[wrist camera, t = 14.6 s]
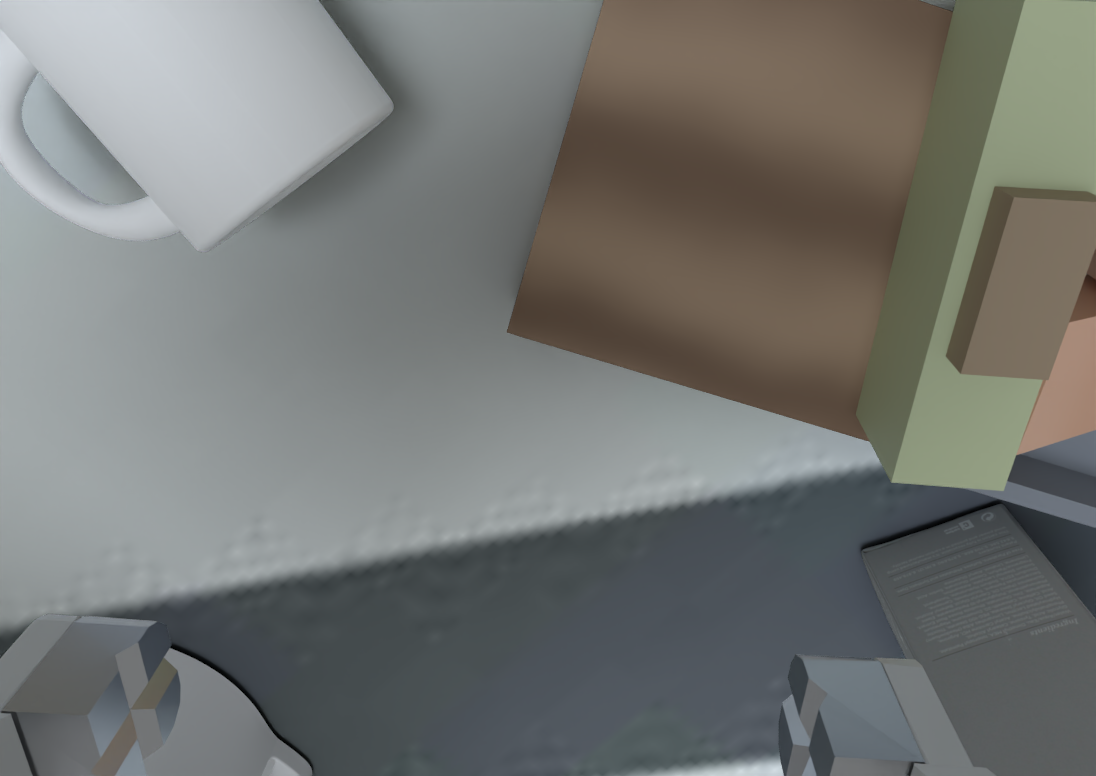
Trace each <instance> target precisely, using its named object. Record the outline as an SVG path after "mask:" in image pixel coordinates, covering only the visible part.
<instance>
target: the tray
mask: <svg viewBox="0 0 1096 776" xmlns="http://www.w3.org/2000/svg"><path fill="white" fill-rule="evenodd" d="M1086 275H1088V274H1087V273H1086ZM964 489H967V490H971V491H974V492H977V493H981V494H984V495H987V496H991V497H994V498H997V499H1001V500H1004V501H1007V502H1011V503H1014V504H1017V505H1021V506H1024V507H1027V508H1031V509H1034V510H1037V511H1041V512H1044V513H1047V514H1051V515H1054V516H1057V517H1061V518H1064V519H1067V520H1071V521H1074V522H1077V523H1081V524H1084V525H1087V526H1091V527H1094V528H1096V430H1094V431H1091V432H1088V433H1084V434H1081V435H1078V436H1075V437H1072V438H1069V439H1066V440H1063V441H1059V442H1056V443H1053V444H1050V445H1047V446H1044V447H1041V448H1038V449H1034V450H1031V451H1028V452H1025V453H1022V454H1019V455H1016V457H1015V460H1014V463H1013V466H1012V468H1011V471H1010V474H1009V477H1008V480H1007V483H1006V485H1005V488H1004V491H996V490H983V489H970V488H964Z"/></svg>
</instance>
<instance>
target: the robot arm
mask: <svg viewBox="0 0 1096 776" xmlns="http://www.w3.org/2000/svg"><path fill="white" fill-rule="evenodd" d="M171 645H172V643H171V640H170V636H169V633H168V629H167V625H165V624H163V623H160V622H158V621H146V620H133V619H120V618H107V617H94V616H84V617H81V616H70V615H58V614H45V615H43V616H41V617H39V618H37V619H35V620H34V621H33V622H32V623H31V624H30V625H29V626H28V628H27V629H26V630H25V631H24V632H23V633H22V634H21V636H20V637H19V638H18V639H17V640H16V641H15V642H14V643H13V645H12V646H11V647H10V648H9V649H8V650H7V651H6V653H5V654H4V655H3V656H2V657H1V658H0V776H312V769H311V767H310V765H309V764H308V762H307V761H306V760H305V759H304V758H303V757H301V756H300V755H299V754H298V753H297V752H295V751H294V750H293V749H291V748H290V747H289V746H288V745H286V744H285V743H283V742H282V741H281V740H279V739H278V738H277V737H276V736H275V735H274V733H273V732H272V731H271V729H270V728H269V727H268V725H267V724H266V722H265V720H264V719H263V717H262V716H261V714H260V713H259V711H258V710H257V709H256V707H255V706H254V705H253V703H252V702H251V701H250V700H249V699H248V698H247V697H246V696H245V695H244V694H243V692H241V691H240V690H239V689H238V688H237V687H236V686H235V685H234V684H233V683H231V682H230V681H229V680H228V679H226V678H225V677H224V676H222V675H221V674H219V673H218V672H217V671H215V670H213V669H212V668H210V667H209V666H207V665H205V664H203V663H202V662H200V661H198V660H196V659H194V658H192V657H190V656H188V655H186V654H183V653H181V652H178V651H176V650H174V649H171V648H170V647H171ZM788 680H789V684H790V687H791V691H792V694H793V695H791V696H790V697H789V698H788V699H787V700H785V701H784V702H783V703H782V707H781V713H780V718H779V752H780V759H781V764H782V769H783V773H784V776H996V775H995V774H994V773H992V772H991V771H990V770H988V769H987V768H983V767H974V766H973V764H972V762H971V760H970V758H969V757H968V755H967V753H966V751H965V749H964V747H963V745H962V743H961V741H960V739H959V737H958V735H957V733H956V731H955V729H954V727H953V725H952V723H951V721H950V719H949V717H948V715H947V713H946V711H945V709H944V707H943V706H942V704H941V702H940V700H939V698H938V696H937V694H936V692H935V690H934V688H933V686H932V684H931V682H930V680H929V678H928V676H927V674H926V672H925V670H924V668H923V666H922V665H921V664H920V663H919V662H917V661H916V660H915V659H893V658H874V659H872V658H860V657H838V656H815V655H795V657H794V659H793V660H792V662H791V665H790V670H789V674H788Z"/></svg>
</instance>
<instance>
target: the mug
mask: <svg viewBox="0 0 1096 776" xmlns="http://www.w3.org/2000/svg"><path fill="white" fill-rule="evenodd" d="M38 72H40V74H41V75H42V76H43V77H44V78H45V79H46V80H47V82H48V83H49V84H50V85H51V86H52V87H53V88H54V89H55V91H56V92H57V93H58V94H59V95H60V96H61V97H62V98H63V100H64V101H65V102H66V103H67V104H68V105H69V106H70V108H71V109H72V110H73V111H74V112H75V113H76V114H77V115H78V117H79V118H80V119H81V120H82V121H83V122H84V123H85V124H86V126H87V127H88V128H89V129H90V130H91V131H92V132H93V134H94V135H95V136H96V137H97V138H98V139H99V140H100V141H101V143H102V144H103V145H104V146H105V147H106V148H107V149H108V151H109V152H110V153H111V154H112V155H113V156H114V157H115V158H116V160H117V161H118V162H119V163H120V164H121V165H122V166H123V167H124V169H125V170H126V171H127V172H128V173H129V174H130V175H131V177H132V178H133V179H134V180H135V181H136V182H137V183H138V184H139V186H140V187H141V188H142V189H143V190H144V191H145V192H146V193H147V195H148V196H146V197H144V198H142V199H139V200H136V201H133V202H129V203H125V204H116V205H110V204H103V203H100V202H97V201H95V200H93V199H91V198H90V197H88V196H87V195H85V194H84V193H82V192H81V191H79V190H78V189H77V188H76V187H74V186H73V185H72V184H71V183H70V182H68V181H67V180H66V179H65V178H64V177H63V176H62V175H61V174H59V173H58V172H57V171H56V170H55V169H54V168H53V167H52V166H51V165H50V164H49V162H48V161H47V160H46V159H45V158H44V157H43V156H42V155H41V153H40V152H39V151H38V150H37V149H36V147H35V146H34V144H33V143H32V142H31V140H30V138H29V137H28V135H27V133H26V131H25V128H24V125H23V121H22V106H23V102H24V99H25V96H26V93H27V91H28V89H29V87H30V85H31V83H32V81H33V80H34V78H35V77H36V75H37V74H38ZM393 108H394V106H393V102H392V100H391V99H390V97H389V96H388V95H387V93H386V92H385V91H384V89H383V88H382V86H381V85H380V84H379V82H378V81H377V80H376V78H375V77H374V76H373V74H372V73H371V71H370V70H369V69H368V67H367V66H366V65H365V63H364V62H363V60H362V59H361V58H360V56H359V55H358V54H357V52H356V51H355V50H354V48H353V47H352V45H351V44H350V43H349V41H348V40H347V39H346V37H345V36H344V34H343V33H342V32H341V30H340V29H339V28H338V26H337V25H336V24H335V22H334V21H333V19H332V18H331V17H330V15H329V14H328V13H327V11H326V10H325V8H324V7H323V6H322V4H321V3H320V2H319V0H0V163H1V164H2V165H3V167H4V168H5V170H6V171H7V172H8V173H9V175H10V176H11V177H12V178H13V179H14V180H15V181H16V182H17V183H18V184H19V185H20V186H21V187H22V188H23V189H24V190H25V191H26V192H27V193H28V194H29V195H31V196H32V197H33V198H34V199H36V200H37V201H38V202H39V203H41V204H42V205H44V206H45V207H46V208H48V209H49V210H51V211H53V212H54V213H56V214H57V215H59V216H61V217H63V218H64V219H66V220H68V221H70V222H72V223H74V224H76V225H78V226H80V227H82V228H85V229H87V230H90V231H92V232H95V233H98V234H100V235H104V236H107V237H111V238H115V239H120V240H127V241H150V240H157V239H161V238H164V237H168V236H171V235H174V234H176V233H178V232H181V233H182V234H183V235H184V236H185V238H186V239H187V240H188V241H189V242H190V243H191V244H192V246H193V247H194V248H195V249H196V250H198V251H200V252H208V251H210V250H212V249H213V248H215V247H216V246H218V245H219V244H221V243H222V242H224V241H225V240H227V239H228V238H230V237H231V236H233V235H234V234H235V233H237V232H238V231H240V230H241V229H242V228H244V227H245V226H247V225H248V224H249V223H251V222H252V221H253V220H255V219H256V218H258V217H259V216H260V215H262V214H263V213H264V212H266V211H267V210H268V209H270V208H271V207H273V206H274V205H275V204H277V203H278V202H279V201H281V200H282V199H283V198H285V197H286V196H287V195H289V194H290V193H291V192H293V191H294V190H295V189H297V188H298V187H299V186H301V185H302V184H303V183H305V182H306V181H307V180H309V179H310V178H311V177H312V176H314V175H315V174H316V173H318V172H319V171H320V170H322V169H323V168H324V167H326V166H327V165H328V164H329V163H331V162H332V161H333V160H335V159H336V158H337V157H338V156H340V155H341V154H342V153H344V152H345V151H346V150H347V149H349V148H350V147H351V146H353V145H354V144H355V143H356V142H358V141H359V140H360V139H361V138H363V137H364V136H365V135H366V134H368V133H369V132H370V131H371V130H373V129H374V128H375V127H376V126H377V125H379V124H380V123H381V122H382V121H383V120H384V119H386V118H387V117H388V116H389V115H390V114H391V113H392V111H393Z"/></svg>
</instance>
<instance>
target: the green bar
mask: <svg viewBox="0 0 1096 776" xmlns="http://www.w3.org/2000/svg"><path fill="white" fill-rule="evenodd" d="M1095 248H1096V0H956V2H955V6H954V10H953V14H952V19H951V23H950V27H949V31H948V35H947V39H946V43H945V47H944V52H943V56H942V60H941V64H940V68H939V72H938V76H937V81H936V85H935V89H934V93H933V97H932V101H931V105H930V109H929V114H928V118H927V122H926V126H925V130H924V134H923V138H922V143H921V147H920V151H919V155H918V159H917V163H916V167H915V171H914V176H913V180H912V184H911V188H910V192H909V196H908V200H907V205H906V209H905V213H904V217H903V221H902V225H901V229H900V234H899V238H898V242H897V246H896V250H895V254H894V258H893V262H892V267H891V271H890V275H889V279H888V283H887V287H886V291H885V296H884V300H883V304H882V308H881V312H880V316H879V320H878V324H877V329H876V333H875V337H874V341H873V345H872V349H871V353H870V358H869V362H868V366H867V370H866V374H865V378H864V382H863V386H862V391H861V395H860V399H859V403H858V407H857V411H856V416H857V418H858V420H859V422H860V424H861V426H862V428H863V429H864V431H865V433H866V435H867V437H868V439H869V441H870V443H871V445H872V447H873V449H874V450H875V452H876V454H877V456H878V458H879V460H880V462H881V464H882V466H883V468H884V470H885V471H886V473H887V475H888V477H889V479H890V481H891V482H892V483H905V484H918V485H931V486H944V487H957V488H970V489H983V490H996V491H1004V488H1005V485H1006V483H1007V480H1008V477H1009V474H1010V471H1011V468H1012V466H1013V463H1014V460H1015V457H1016V454H1017V452H1018V449H1019V446H1020V443H1021V440H1022V437H1023V435H1024V432H1025V429H1026V426H1027V423H1028V420H1029V418H1030V415H1031V412H1032V409H1033V406H1034V403H1035V401H1036V398H1037V395H1038V392H1039V389H1040V387H1041V384H1042V381H1043V380H1049V377H1050V374H1051V371H1052V369H1053V366H1054V363H1055V360H1056V357H1057V355H1058V352H1059V349H1060V346H1061V343H1062V341H1063V338H1064V335H1065V332H1066V329H1067V327H1068V324H1069V321H1070V318H1071V315H1072V313H1073V310H1074V307H1075V304H1076V301H1077V299H1078V296H1079V293H1080V290H1081V287H1082V285H1083V282H1084V279H1085V276H1086V273H1087V271H1088V268H1089V265H1090V262H1091V259H1092V257H1093V254H1094V251H1095Z"/></svg>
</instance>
